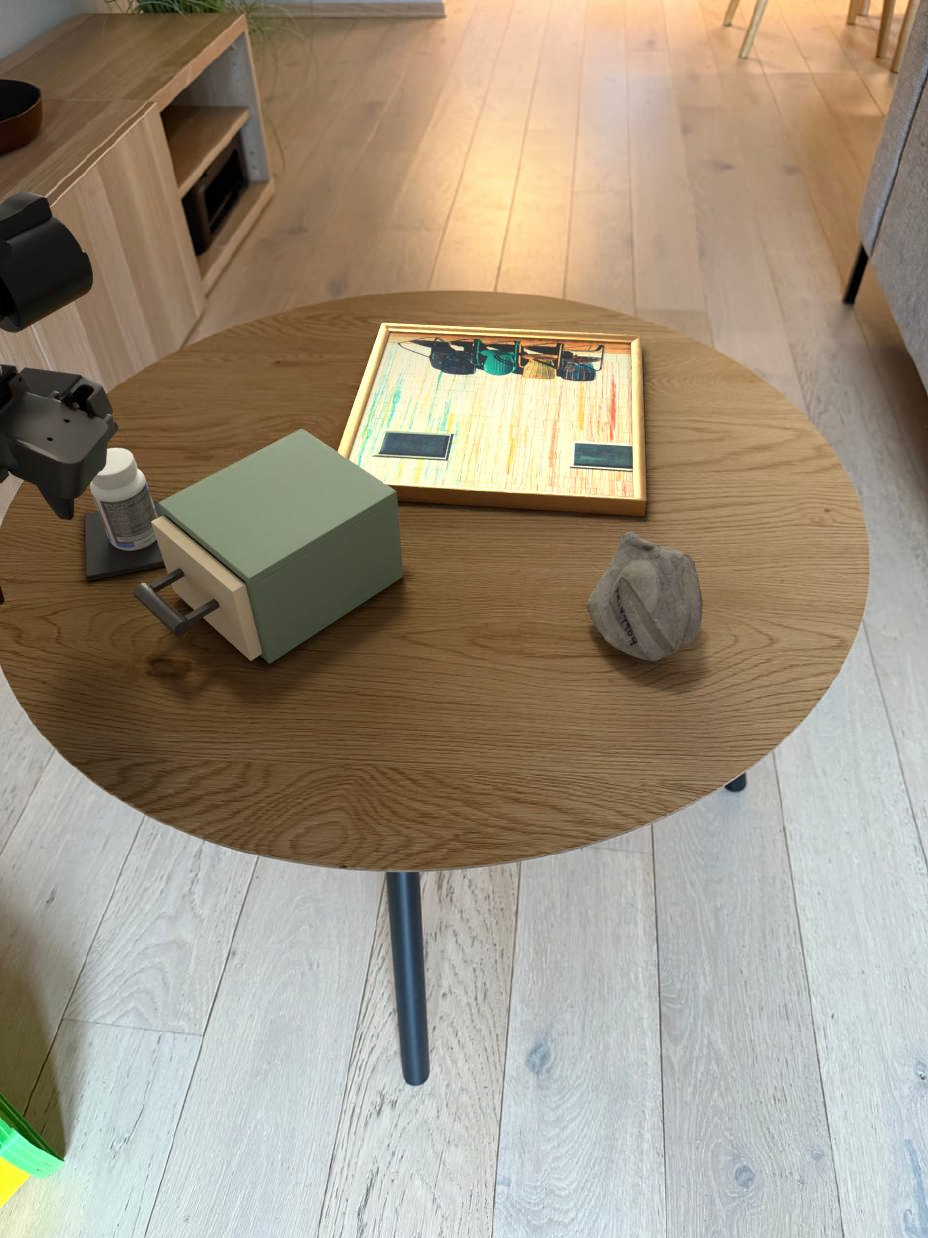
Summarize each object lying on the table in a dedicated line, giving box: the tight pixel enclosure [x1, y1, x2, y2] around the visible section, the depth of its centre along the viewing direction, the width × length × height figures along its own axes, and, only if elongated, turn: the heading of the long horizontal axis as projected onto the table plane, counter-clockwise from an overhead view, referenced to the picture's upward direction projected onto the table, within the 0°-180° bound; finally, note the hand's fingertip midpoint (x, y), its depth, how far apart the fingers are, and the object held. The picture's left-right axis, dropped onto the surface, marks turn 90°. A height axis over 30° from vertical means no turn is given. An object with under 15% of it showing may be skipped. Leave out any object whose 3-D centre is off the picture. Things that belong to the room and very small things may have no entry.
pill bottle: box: [89, 447, 158, 551], centre depth 84 cm, size 5×5×8 cm
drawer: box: [132, 515, 262, 662], centre depth 78 cm, size 18×11×8 cm, turn 134°
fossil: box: [586, 531, 704, 662], centre depth 76 cm, size 11×9×8 cm
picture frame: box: [337, 322, 648, 517], centre depth 100 cm, size 30×2×30 cm
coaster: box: [84, 499, 166, 582], centre depth 87 cm, size 9×9×1 cm
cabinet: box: [158, 428, 404, 665], centre depth 80 cm, size 15×13×10 cm
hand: (33, 558), depth 68 cm, fingers open, 9 cm apart
